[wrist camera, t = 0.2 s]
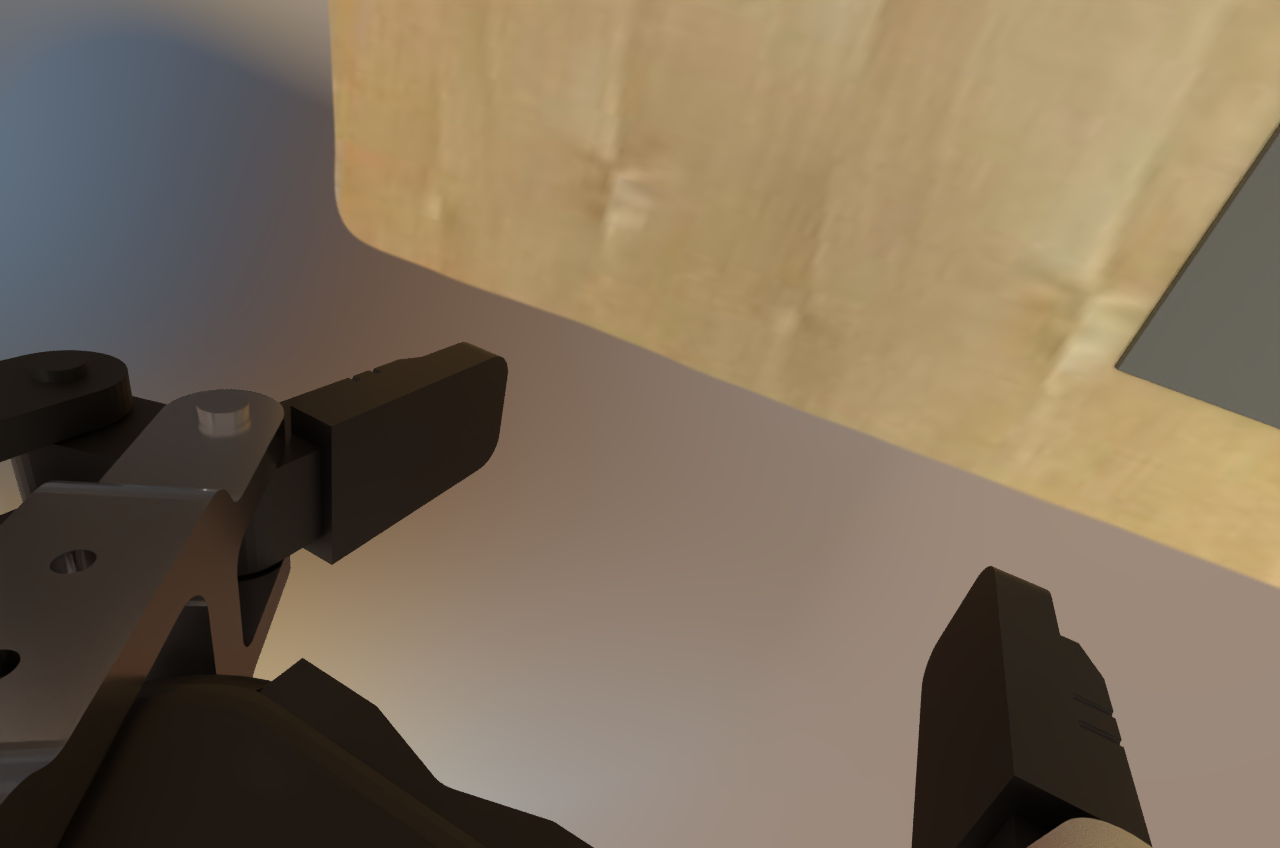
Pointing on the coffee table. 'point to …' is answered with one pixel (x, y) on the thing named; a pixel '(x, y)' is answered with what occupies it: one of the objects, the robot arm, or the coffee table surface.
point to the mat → (1224, 307)
